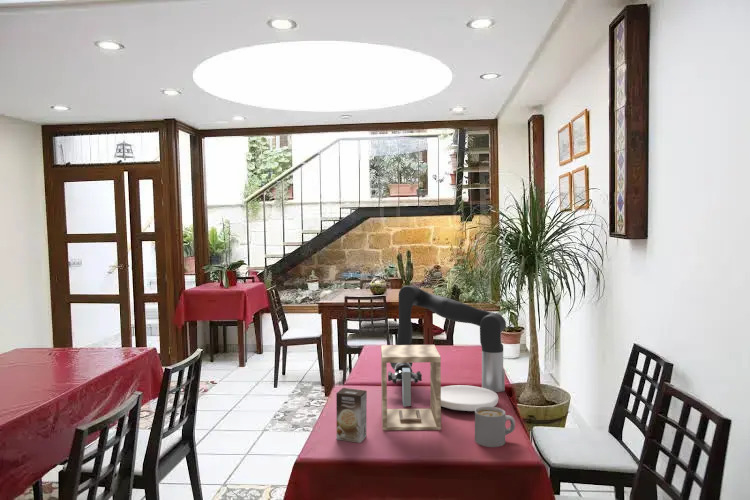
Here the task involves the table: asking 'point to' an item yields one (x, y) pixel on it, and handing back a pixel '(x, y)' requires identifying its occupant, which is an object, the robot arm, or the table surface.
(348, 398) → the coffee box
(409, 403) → the grey block
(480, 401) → the plate
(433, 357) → the shelf
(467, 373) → the table surface
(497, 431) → the coffee mug
